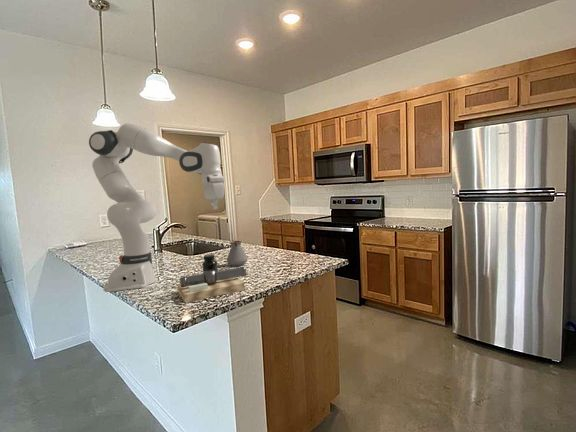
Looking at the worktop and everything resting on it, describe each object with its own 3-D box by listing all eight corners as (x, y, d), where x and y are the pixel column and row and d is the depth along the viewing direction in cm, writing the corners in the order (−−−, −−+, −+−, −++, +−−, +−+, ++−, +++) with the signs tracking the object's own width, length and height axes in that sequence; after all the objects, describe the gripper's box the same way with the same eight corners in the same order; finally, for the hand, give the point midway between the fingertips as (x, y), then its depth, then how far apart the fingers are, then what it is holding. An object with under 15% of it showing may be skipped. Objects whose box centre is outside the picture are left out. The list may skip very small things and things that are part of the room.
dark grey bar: (181, 290, 128) (180, 277, 128) (180, 286, 133) (179, 274, 132) (248, 277, 140) (247, 266, 139) (244, 275, 144) (243, 264, 144)
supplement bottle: (212, 277, 156) (210, 253, 154) (221, 279, 151) (219, 254, 150) (200, 281, 150) (198, 256, 149) (209, 283, 146) (207, 257, 145)
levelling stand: (185, 302, 123) (183, 290, 123) (178, 291, 137) (176, 280, 137) (244, 289, 134) (243, 278, 134) (232, 281, 148) (231, 270, 148)
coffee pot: (227, 263, 185) (225, 237, 184) (247, 261, 187) (245, 235, 185) (226, 272, 164) (224, 243, 163) (249, 270, 166) (247, 241, 164)
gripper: (199, 180, 155) (202, 208, 156) (210, 177, 137) (213, 210, 138) (213, 179, 158) (215, 207, 159) (225, 177, 140) (227, 209, 141)
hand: (214, 209), depth 149 cm, fingers closed
